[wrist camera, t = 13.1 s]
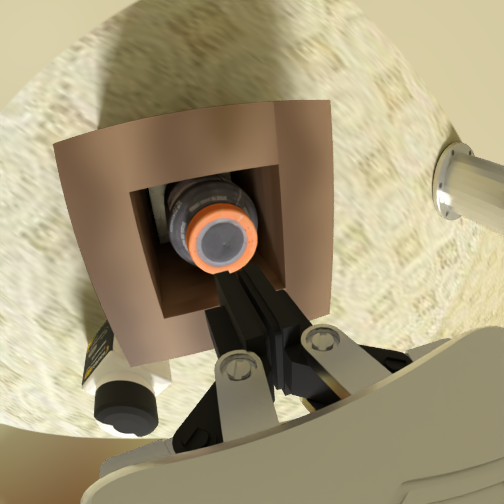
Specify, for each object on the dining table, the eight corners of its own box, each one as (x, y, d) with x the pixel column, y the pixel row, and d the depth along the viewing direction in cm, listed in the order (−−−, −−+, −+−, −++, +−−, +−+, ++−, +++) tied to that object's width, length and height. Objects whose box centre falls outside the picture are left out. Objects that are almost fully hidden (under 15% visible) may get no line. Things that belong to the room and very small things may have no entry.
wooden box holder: (260, 105, 25) (330, 100, 15) (272, 249, 32) (329, 313, 22) (97, 134, 22) (52, 143, 11) (133, 282, 28) (130, 367, 18)
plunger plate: (224, 149, 26) (227, 150, 25) (233, 223, 29) (236, 227, 28) (144, 164, 24) (144, 166, 23) (160, 239, 28) (160, 243, 27)
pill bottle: (223, 229, 28) (263, 291, 18) (160, 225, 26) (167, 291, 16) (233, 167, 26) (284, 198, 16) (167, 160, 24) (175, 187, 14)
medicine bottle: (115, 307, 29) (108, 393, 19) (167, 337, 33) (181, 421, 22) (86, 345, 30) (76, 428, 19) (135, 370, 33) (141, 451, 23)
